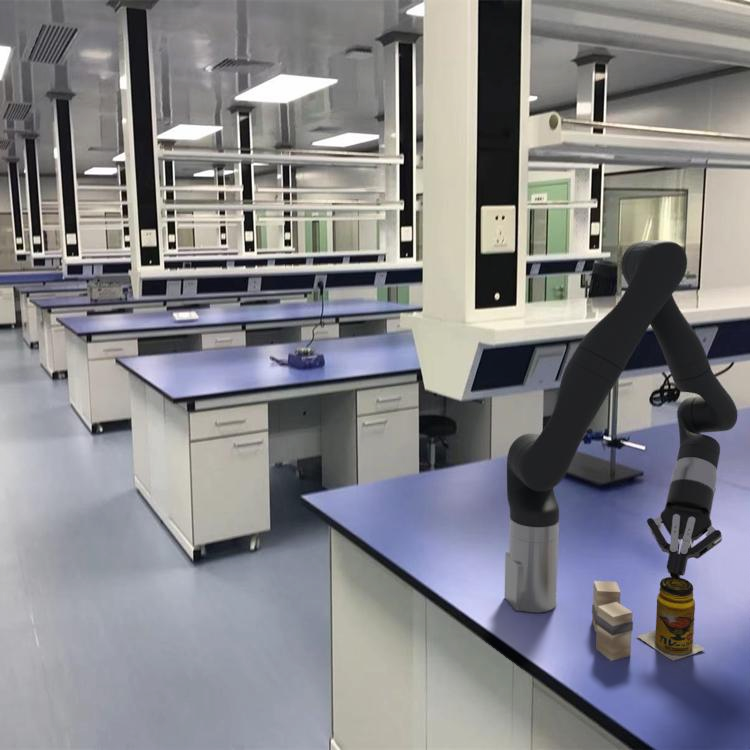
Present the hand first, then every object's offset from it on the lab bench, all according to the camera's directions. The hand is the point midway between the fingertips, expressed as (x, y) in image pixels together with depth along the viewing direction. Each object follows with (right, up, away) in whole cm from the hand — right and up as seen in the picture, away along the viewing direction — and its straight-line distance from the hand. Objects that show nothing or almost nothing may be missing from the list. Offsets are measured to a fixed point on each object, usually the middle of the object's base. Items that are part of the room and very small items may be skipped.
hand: (674, 575), depth 127 cm
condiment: (0, -13, +2) cm, 13 cm away
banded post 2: (-11, -13, 0) cm, 17 cm away
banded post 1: (-9, -12, +8) cm, 17 cm away
